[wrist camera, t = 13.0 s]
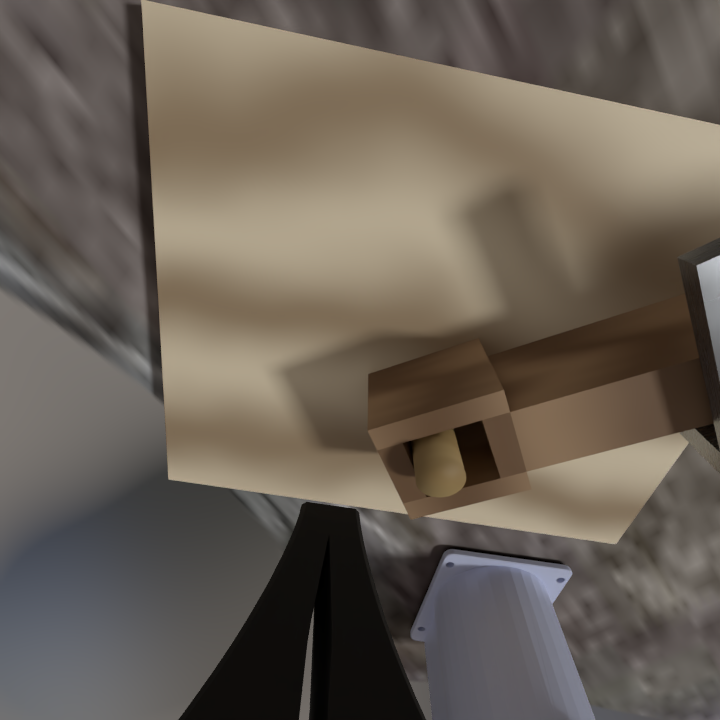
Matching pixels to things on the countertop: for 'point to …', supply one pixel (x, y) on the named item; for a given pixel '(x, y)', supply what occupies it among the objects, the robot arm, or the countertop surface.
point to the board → (394, 254)
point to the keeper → (705, 337)
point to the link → (540, 401)
